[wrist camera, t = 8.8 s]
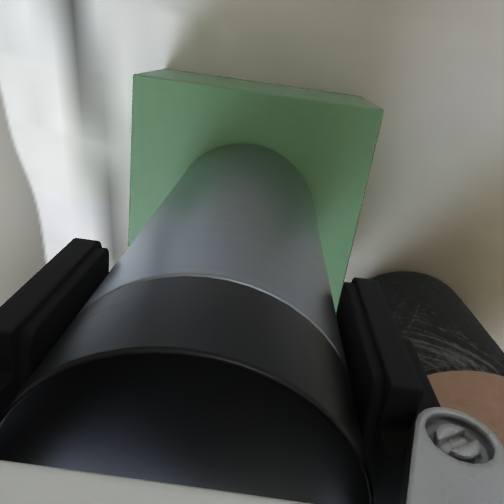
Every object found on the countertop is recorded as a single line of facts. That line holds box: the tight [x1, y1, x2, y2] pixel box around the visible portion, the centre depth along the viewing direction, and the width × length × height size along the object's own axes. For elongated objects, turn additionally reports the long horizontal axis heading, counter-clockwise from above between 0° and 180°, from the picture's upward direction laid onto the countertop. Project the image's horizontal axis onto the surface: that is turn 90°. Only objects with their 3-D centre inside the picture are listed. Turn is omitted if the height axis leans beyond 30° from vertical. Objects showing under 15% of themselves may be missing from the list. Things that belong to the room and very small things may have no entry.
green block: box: [128, 69, 384, 312], centre depth 21 cm, size 9×9×5 cm
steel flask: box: [0, 144, 374, 504], centre depth 13 cm, size 5×5×13 cm
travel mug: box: [370, 272, 504, 449], centre depth 17 cm, size 8×8×20 cm
